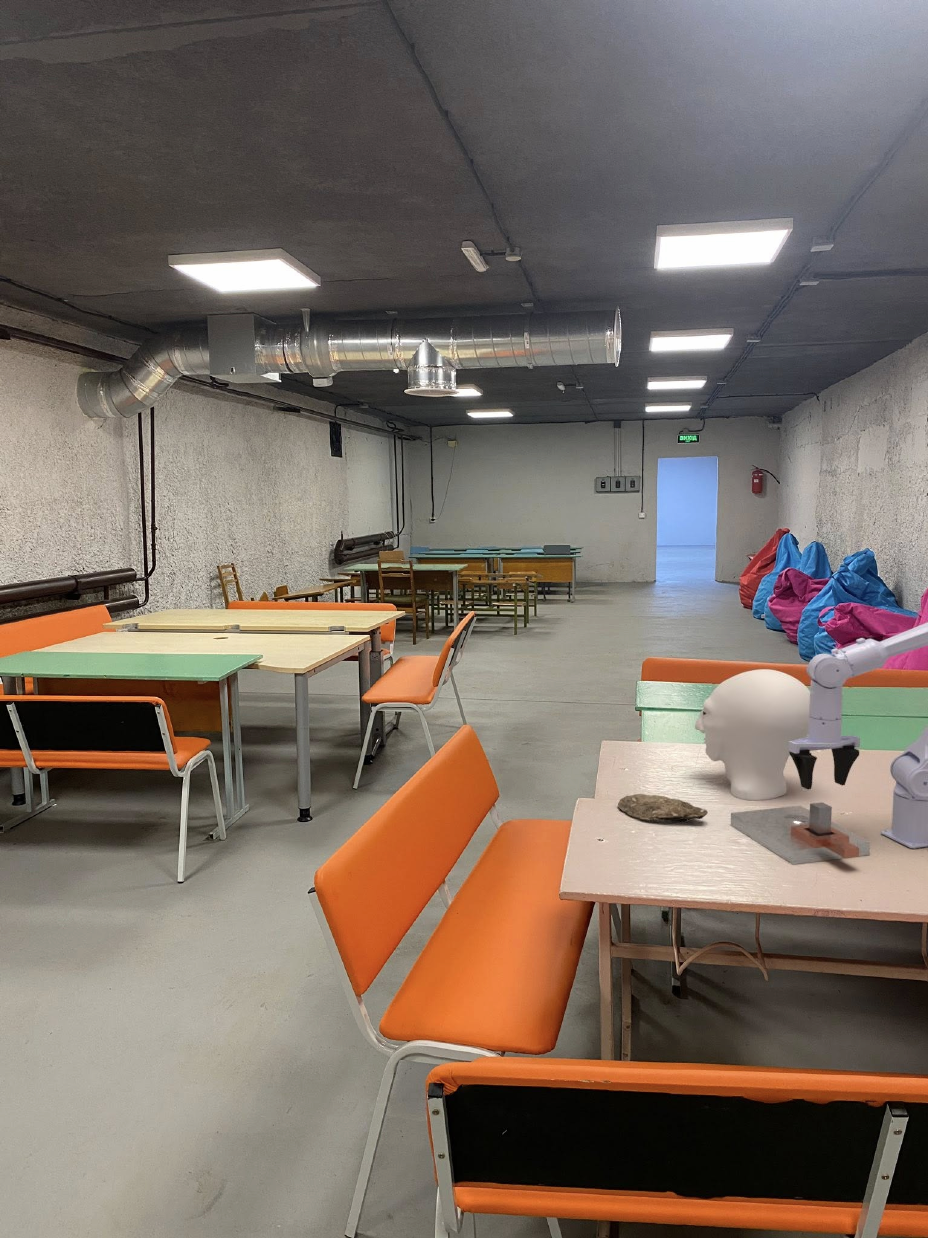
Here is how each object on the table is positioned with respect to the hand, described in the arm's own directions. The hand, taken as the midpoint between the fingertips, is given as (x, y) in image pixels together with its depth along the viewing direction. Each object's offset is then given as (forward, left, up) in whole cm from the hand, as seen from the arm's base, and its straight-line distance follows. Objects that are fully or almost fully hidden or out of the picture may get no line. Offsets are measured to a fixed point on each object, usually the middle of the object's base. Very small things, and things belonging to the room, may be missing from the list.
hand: (823, 785), depth 155 cm
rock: (+25, -18, -10) cm, 33 cm away
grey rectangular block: (+6, +7, -10) cm, 14 cm away
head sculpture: (-3, -28, -10) cm, 30 cm away
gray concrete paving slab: (+6, +3, -10) cm, 12 cm away
